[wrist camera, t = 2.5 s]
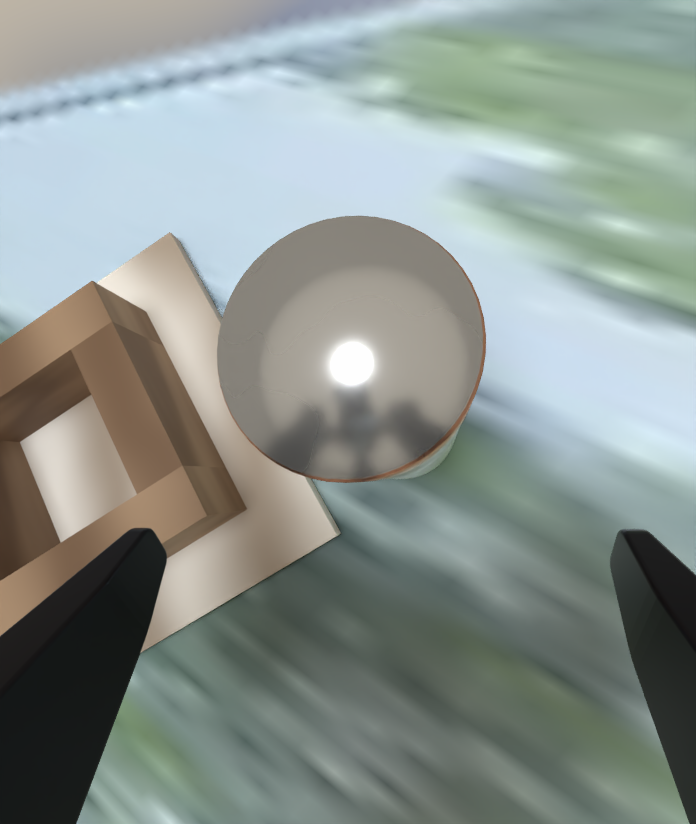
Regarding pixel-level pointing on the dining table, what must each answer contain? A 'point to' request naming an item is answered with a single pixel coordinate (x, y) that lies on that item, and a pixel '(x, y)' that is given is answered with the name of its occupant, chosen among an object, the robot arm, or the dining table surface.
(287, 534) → the socket
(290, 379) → the grey topped cylinder
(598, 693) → the dining table surface
